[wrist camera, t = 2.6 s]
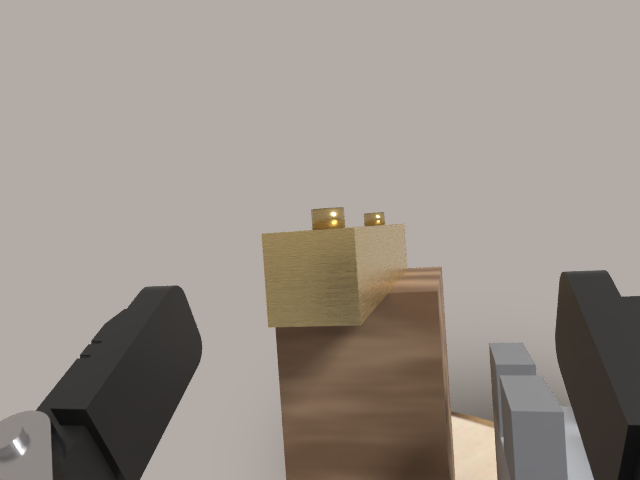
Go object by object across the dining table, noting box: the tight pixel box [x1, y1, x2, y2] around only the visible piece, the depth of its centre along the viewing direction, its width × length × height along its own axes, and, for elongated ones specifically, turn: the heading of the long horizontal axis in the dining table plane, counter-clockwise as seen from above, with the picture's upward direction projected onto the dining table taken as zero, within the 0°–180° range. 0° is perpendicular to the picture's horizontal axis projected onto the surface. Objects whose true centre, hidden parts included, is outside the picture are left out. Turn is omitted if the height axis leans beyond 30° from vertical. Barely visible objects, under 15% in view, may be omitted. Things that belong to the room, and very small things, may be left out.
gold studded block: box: [262, 207, 407, 327], centre depth 33 cm, size 24×4×5 cm, turn 166°
